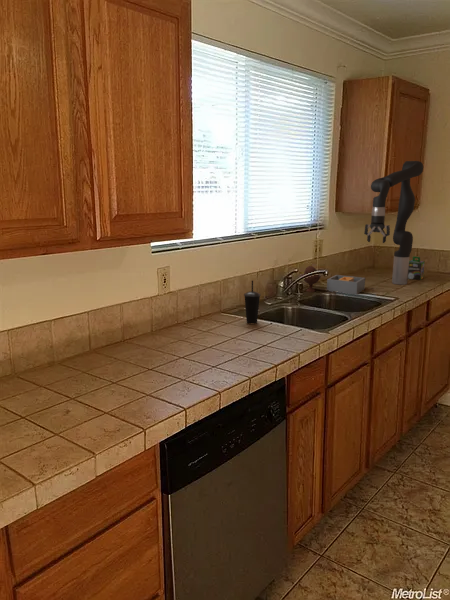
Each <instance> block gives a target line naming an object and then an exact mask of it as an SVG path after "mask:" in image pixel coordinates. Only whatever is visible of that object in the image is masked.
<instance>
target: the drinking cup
mask: <svg viewBox="0 0 450 600" xmlns="http://www.w3.org/2000/svg"><path fill="white" fill-rule="evenodd" d="M243 296H244V306H245V307H244V308H245V317H246V318H245V321H246V324H248V323H256V324H258V319H259V318H258V317H259V308H260V299H261V293H259V292H257V291H254V280H251V290H250V291H247V292H245V293H244V294H243Z"/></svg>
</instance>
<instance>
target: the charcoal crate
mask: <svg viewBox="0 0 450 600" xmlns="http://www.w3.org/2000/svg"><path fill="white" fill-rule="evenodd" d="M343 277H352V278H354V282H351V281H342V280H339V279H341V278H343ZM365 286H366V277H359V276H353V275H340V274H335V275H333V276H331V277H329V278H327V279H326V291H327V290H329V291H328V292H333V291H338V292H337V293H341V292H343V294H348V295H349V294H350V295H358V294H359V293H361V292H363V291H364V290H366V289H365V288H366V287H365ZM362 290H363V291H362Z"/></svg>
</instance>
